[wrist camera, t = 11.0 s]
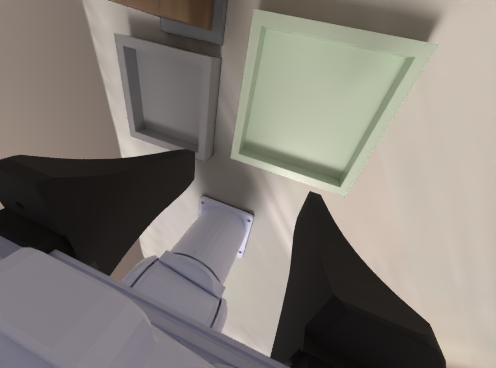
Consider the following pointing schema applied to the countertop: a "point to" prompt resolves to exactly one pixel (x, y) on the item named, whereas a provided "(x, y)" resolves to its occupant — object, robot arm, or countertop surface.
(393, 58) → the green tray
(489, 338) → the countertop surface
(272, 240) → the countertop surface
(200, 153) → the grey tray
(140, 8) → the walnut block
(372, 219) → the countertop surface
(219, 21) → the slate coaster
